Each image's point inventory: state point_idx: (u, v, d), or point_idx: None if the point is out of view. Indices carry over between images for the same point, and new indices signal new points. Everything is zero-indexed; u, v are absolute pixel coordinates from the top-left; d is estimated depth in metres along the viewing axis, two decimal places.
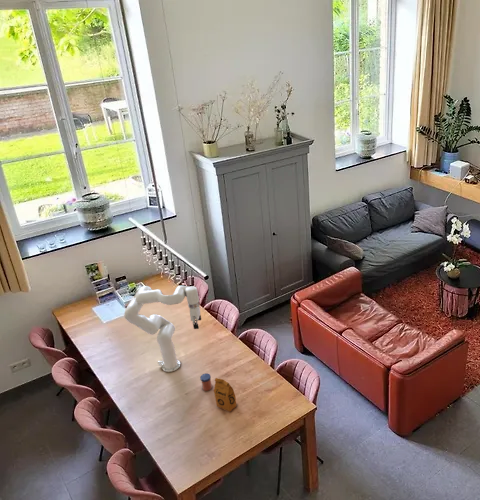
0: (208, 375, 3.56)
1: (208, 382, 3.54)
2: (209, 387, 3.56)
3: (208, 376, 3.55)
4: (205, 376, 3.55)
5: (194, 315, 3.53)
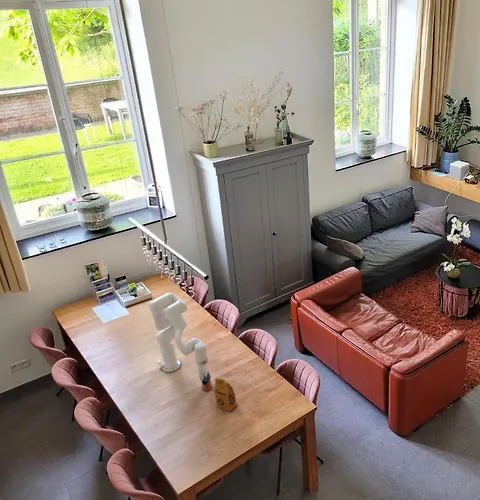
0: (208, 375, 3.56)
1: (208, 382, 3.54)
2: (209, 387, 3.56)
3: (208, 376, 3.55)
4: None
5: (202, 372, 3.46)
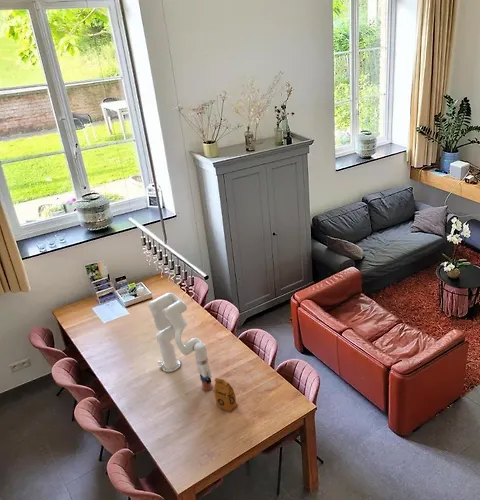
0: None
1: None
2: (209, 387, 3.56)
3: None
4: None
5: (208, 370, 3.48)
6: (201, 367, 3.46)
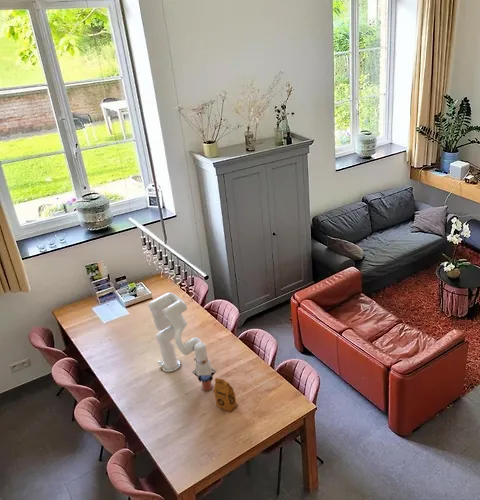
0: None
1: (208, 382, 3.54)
2: (209, 387, 3.56)
3: None
4: (204, 376, 3.54)
5: (211, 366, 3.51)
6: (205, 366, 3.47)
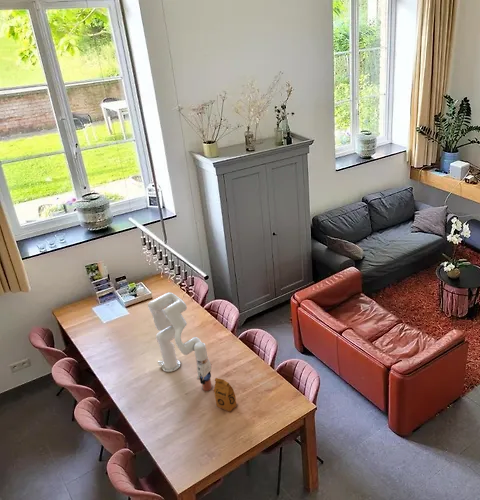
0: None
1: (208, 382, 3.54)
2: (209, 387, 3.56)
3: None
4: None
5: None
6: (208, 362, 3.50)
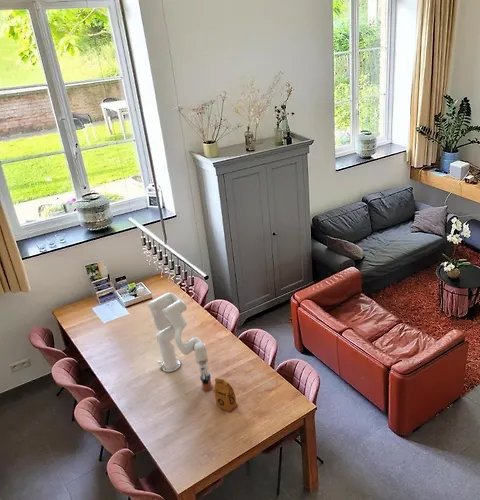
0: None
1: (208, 382, 3.54)
2: (209, 387, 3.56)
3: None
4: (205, 376, 3.54)
5: None
6: None
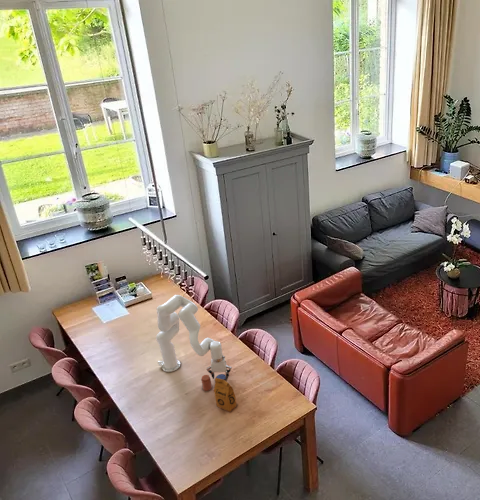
0: None
1: (208, 382, 3.54)
2: (209, 387, 3.56)
3: None
4: (221, 377, 3.66)
5: (211, 365, 3.60)
6: None
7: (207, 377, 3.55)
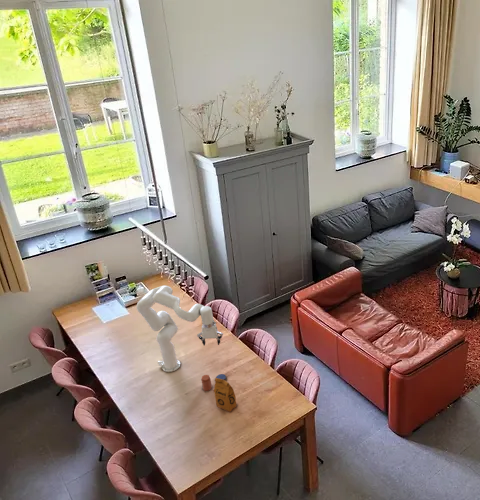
0: None
1: (208, 382, 3.54)
2: (209, 387, 3.56)
3: None
4: (221, 377, 3.66)
5: None
6: None
7: (207, 377, 3.55)
